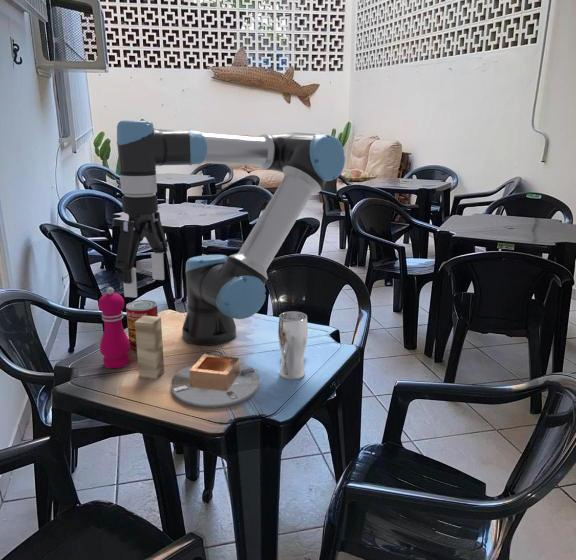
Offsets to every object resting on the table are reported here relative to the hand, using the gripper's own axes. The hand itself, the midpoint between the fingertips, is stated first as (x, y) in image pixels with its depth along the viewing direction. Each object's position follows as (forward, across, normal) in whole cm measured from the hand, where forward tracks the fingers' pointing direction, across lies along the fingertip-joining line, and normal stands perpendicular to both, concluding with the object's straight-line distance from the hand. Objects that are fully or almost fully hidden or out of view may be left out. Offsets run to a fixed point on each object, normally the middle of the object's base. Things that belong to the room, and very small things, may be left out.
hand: (145, 287), depth 121 cm
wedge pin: (+22, 0, 0) cm, 22 cm away
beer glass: (+22, -8, +33) cm, 41 cm away
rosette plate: (+22, +2, +17) cm, 28 cm away
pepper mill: (+22, -3, -11) cm, 25 cm away
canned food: (+22, -14, -9) cm, 28 cm away
